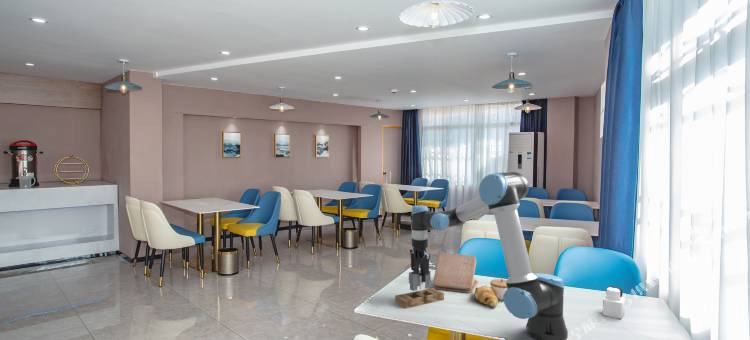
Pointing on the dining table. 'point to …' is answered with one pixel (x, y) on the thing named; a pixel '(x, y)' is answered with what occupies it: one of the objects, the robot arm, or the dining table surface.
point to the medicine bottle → (614, 303)
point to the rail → (419, 297)
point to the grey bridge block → (417, 280)
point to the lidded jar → (499, 288)
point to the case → (455, 273)
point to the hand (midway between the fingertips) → (419, 287)
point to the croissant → (486, 296)
